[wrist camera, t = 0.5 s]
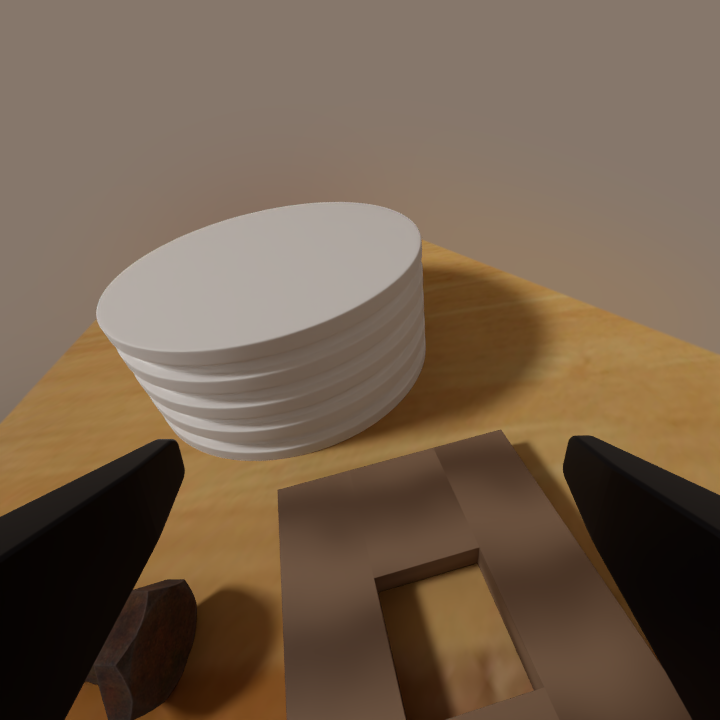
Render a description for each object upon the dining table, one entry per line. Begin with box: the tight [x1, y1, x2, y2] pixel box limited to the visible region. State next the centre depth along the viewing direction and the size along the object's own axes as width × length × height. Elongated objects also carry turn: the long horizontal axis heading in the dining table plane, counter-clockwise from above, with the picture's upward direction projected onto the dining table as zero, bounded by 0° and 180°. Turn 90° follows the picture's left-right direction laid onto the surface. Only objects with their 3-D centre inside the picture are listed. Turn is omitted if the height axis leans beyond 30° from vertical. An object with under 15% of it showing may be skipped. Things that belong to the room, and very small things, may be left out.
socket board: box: [278, 430, 692, 720], centre depth 18 cm, size 20×16×2 cm
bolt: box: [85, 579, 197, 720], centre depth 20 cm, size 6×5×15 cm
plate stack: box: [96, 202, 426, 461], centre depth 37 cm, size 28×28×12 cm
